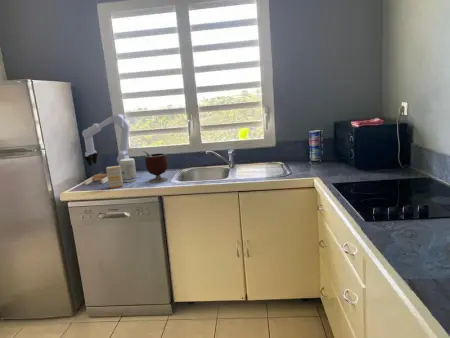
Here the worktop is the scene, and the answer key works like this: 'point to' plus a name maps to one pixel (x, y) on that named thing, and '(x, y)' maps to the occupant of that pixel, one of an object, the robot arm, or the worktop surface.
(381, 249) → the worktop surface
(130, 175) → the supplement tub
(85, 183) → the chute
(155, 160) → the mate gourd
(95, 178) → the block
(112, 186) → the supplement box
